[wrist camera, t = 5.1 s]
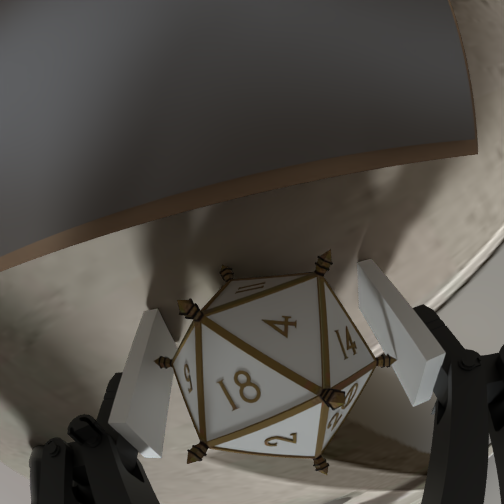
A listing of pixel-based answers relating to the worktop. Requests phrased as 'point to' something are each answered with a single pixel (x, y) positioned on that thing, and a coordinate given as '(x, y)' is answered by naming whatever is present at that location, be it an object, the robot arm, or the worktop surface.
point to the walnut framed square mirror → (211, 105)
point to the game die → (271, 366)
